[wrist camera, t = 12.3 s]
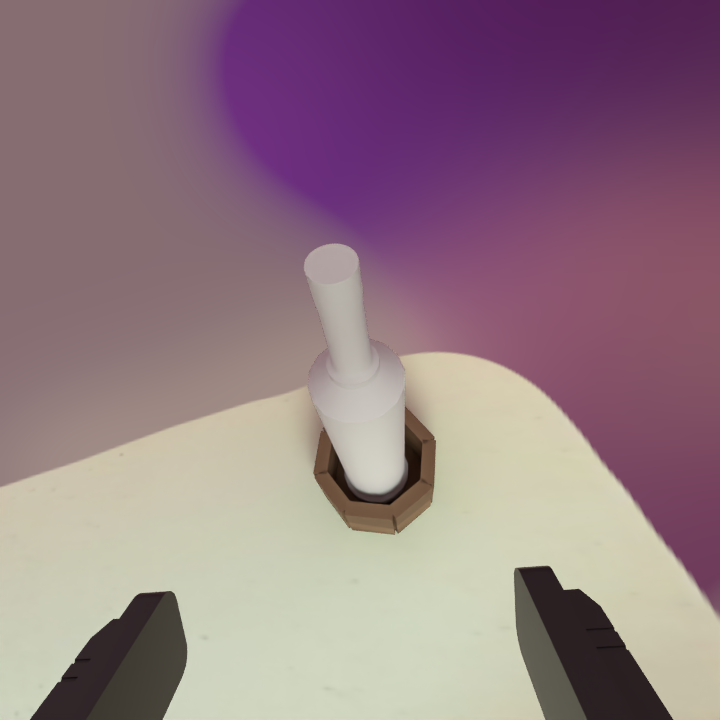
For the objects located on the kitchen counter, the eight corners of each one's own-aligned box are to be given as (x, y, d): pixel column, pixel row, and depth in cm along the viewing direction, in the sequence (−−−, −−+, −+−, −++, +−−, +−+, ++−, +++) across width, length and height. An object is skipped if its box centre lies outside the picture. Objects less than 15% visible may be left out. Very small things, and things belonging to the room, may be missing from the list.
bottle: (414, 501, 36) (415, 304, 15) (351, 513, 36) (264, 332, 15) (402, 441, 39) (387, 204, 18) (342, 452, 39) (259, 228, 18)
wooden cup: (318, 526, 37) (306, 510, 33) (335, 424, 42) (326, 399, 38) (430, 538, 36) (432, 524, 32) (434, 432, 40) (437, 407, 36)
